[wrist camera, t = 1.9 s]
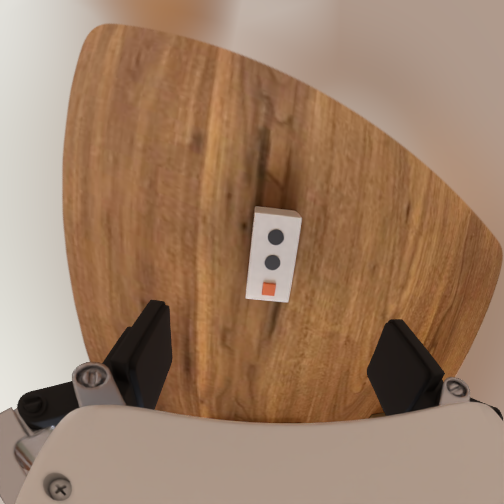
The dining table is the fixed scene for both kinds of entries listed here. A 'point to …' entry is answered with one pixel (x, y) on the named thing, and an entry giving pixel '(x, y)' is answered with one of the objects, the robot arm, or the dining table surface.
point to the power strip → (272, 254)
